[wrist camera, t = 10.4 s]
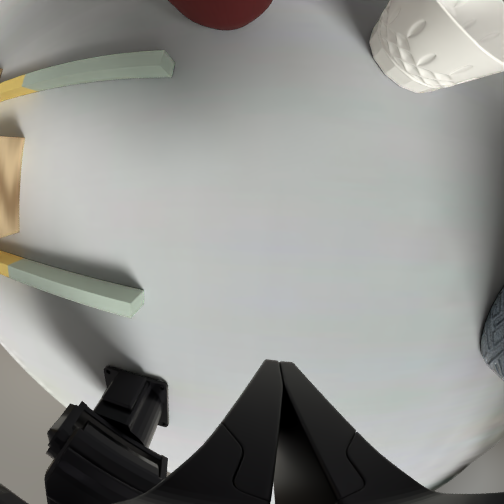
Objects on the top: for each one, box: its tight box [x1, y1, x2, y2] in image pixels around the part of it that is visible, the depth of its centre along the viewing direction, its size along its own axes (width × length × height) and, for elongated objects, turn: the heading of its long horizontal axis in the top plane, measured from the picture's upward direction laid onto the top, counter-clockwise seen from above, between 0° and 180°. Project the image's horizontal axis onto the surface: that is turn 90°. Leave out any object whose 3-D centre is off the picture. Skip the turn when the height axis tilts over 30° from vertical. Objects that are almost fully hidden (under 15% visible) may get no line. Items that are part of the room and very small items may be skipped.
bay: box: [0, 50, 175, 318], centre depth 17 cm, size 18×28×2 cm, turn 81°
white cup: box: [369, 0, 504, 93], centre depth 10 cm, size 8×8×10 cm
